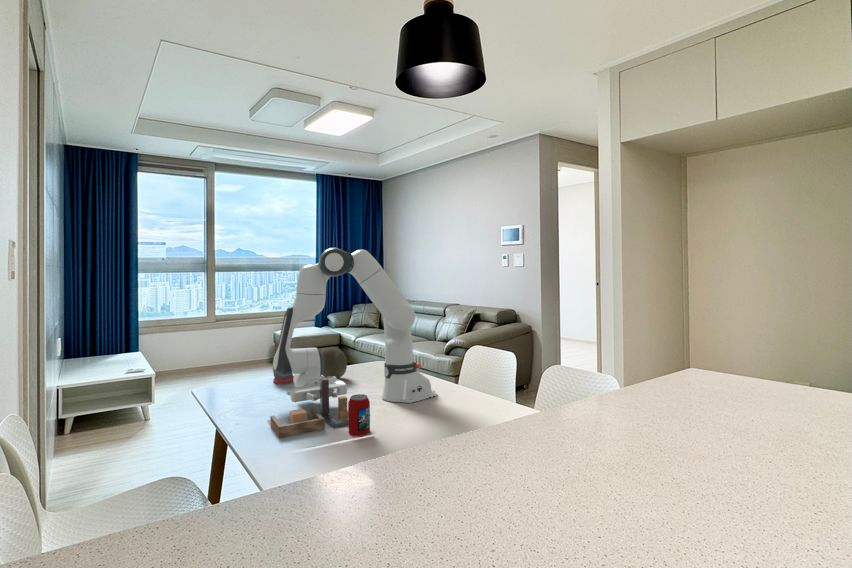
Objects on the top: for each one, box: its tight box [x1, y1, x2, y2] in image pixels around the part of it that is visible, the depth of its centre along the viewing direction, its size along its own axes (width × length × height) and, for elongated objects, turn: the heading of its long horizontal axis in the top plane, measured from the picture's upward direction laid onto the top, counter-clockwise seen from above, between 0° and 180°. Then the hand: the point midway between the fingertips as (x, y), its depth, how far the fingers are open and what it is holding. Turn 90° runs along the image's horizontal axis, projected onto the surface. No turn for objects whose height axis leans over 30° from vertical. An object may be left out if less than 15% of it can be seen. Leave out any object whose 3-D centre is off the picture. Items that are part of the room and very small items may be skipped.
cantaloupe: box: [320, 346, 348, 380], centre depth 216 cm, size 14×14×15 cm
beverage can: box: [347, 393, 371, 438], centre depth 147 cm, size 7×7×12 cm
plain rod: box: [337, 395, 348, 421], centre depth 160 cm, size 2×2×8 cm
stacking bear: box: [272, 343, 295, 385], centre depth 213 cm, size 11×10×18 cm
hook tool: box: [319, 378, 349, 429], centre depth 158 cm, size 8×13×14 cm, turn 30°
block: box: [289, 408, 308, 424], centre depth 154 cm, size 4×4×4 cm
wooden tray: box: [266, 408, 326, 439], centre depth 154 cm, size 14×19×4 cm
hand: (325, 396), depth 160 cm, fingers open, 6 cm apart
